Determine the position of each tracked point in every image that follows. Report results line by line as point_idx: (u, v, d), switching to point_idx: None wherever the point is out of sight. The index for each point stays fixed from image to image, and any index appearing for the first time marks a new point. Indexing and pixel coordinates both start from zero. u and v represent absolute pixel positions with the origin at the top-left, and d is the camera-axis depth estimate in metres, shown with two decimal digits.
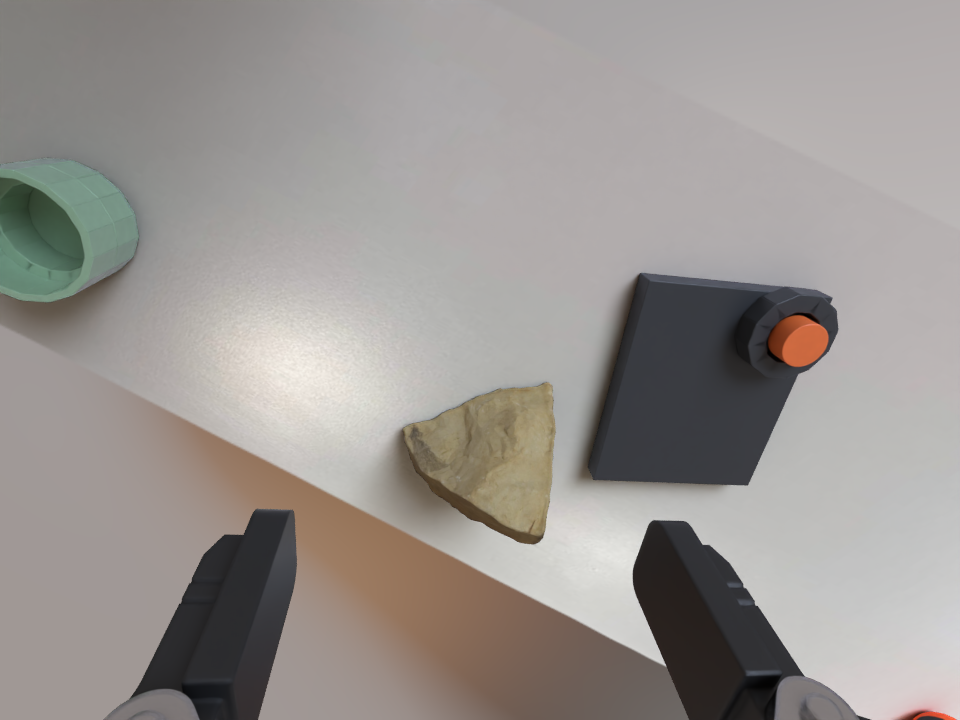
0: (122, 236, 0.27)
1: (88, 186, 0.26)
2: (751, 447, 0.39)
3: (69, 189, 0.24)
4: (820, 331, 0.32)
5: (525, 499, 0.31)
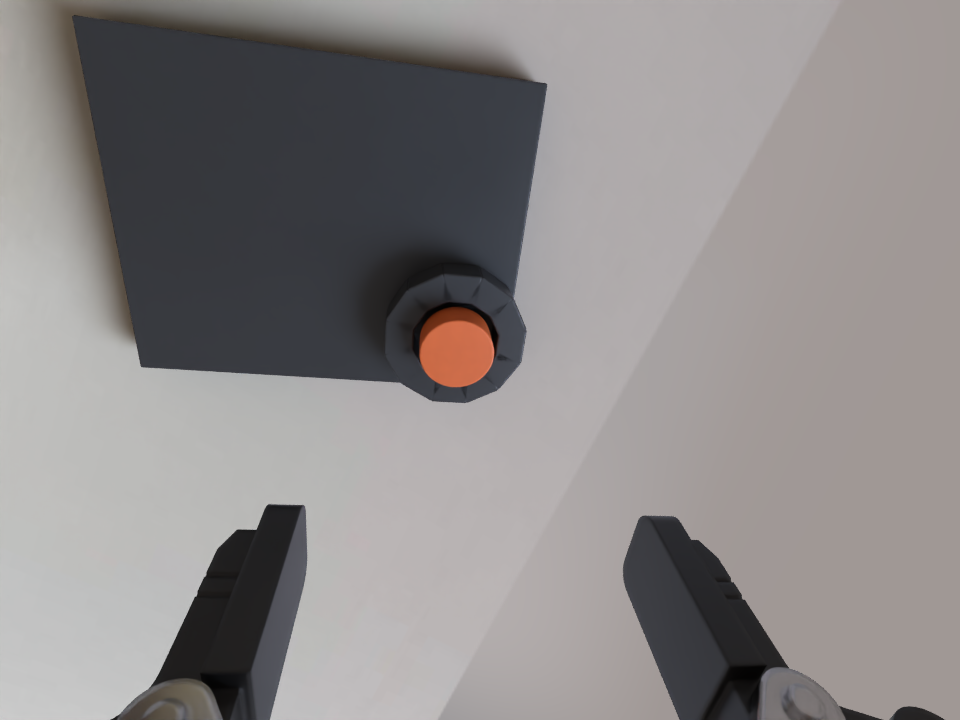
0: None
1: None
2: (227, 349, 0.22)
3: None
4: (481, 369, 0.21)
5: None
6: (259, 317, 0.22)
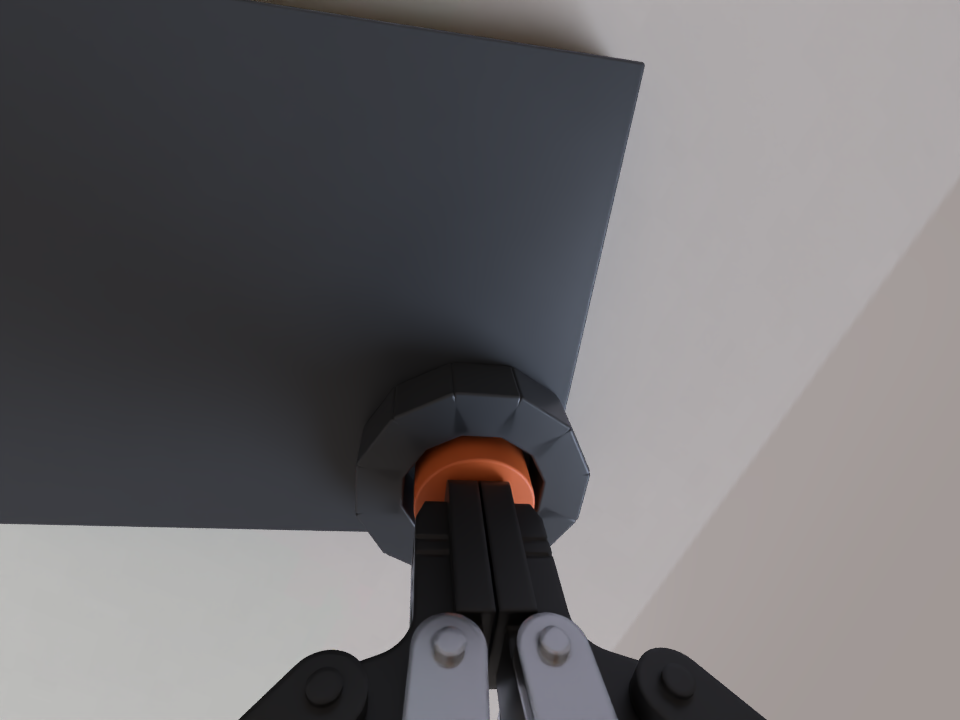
0: None
1: None
2: (104, 495, 0.14)
3: None
4: None
5: None
6: (152, 448, 0.13)
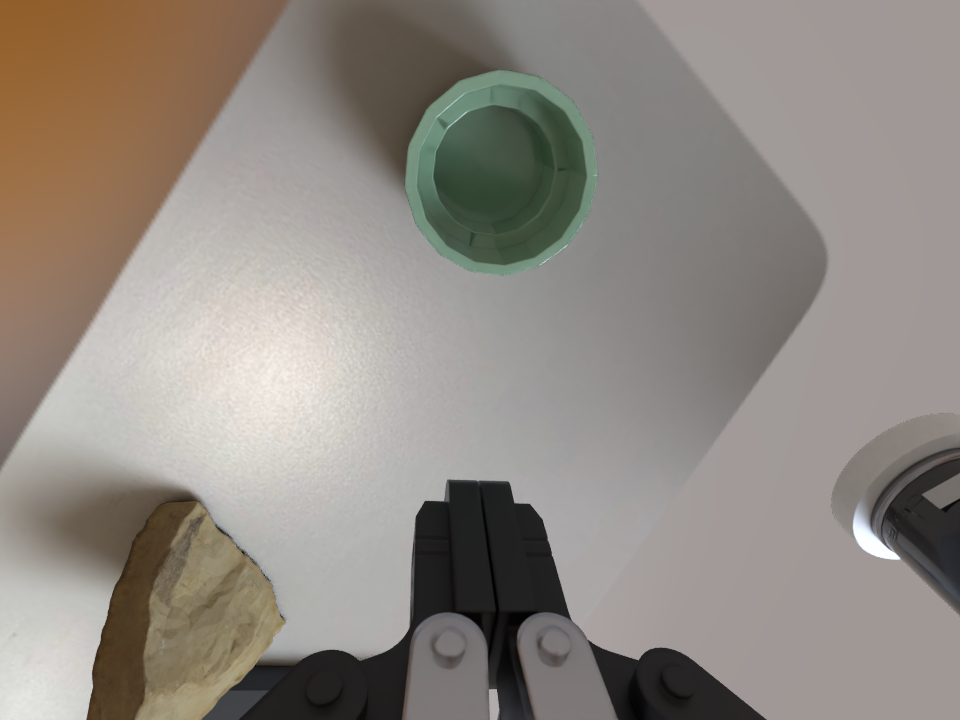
0: None
1: None
2: None
3: None
4: None
5: None
6: None
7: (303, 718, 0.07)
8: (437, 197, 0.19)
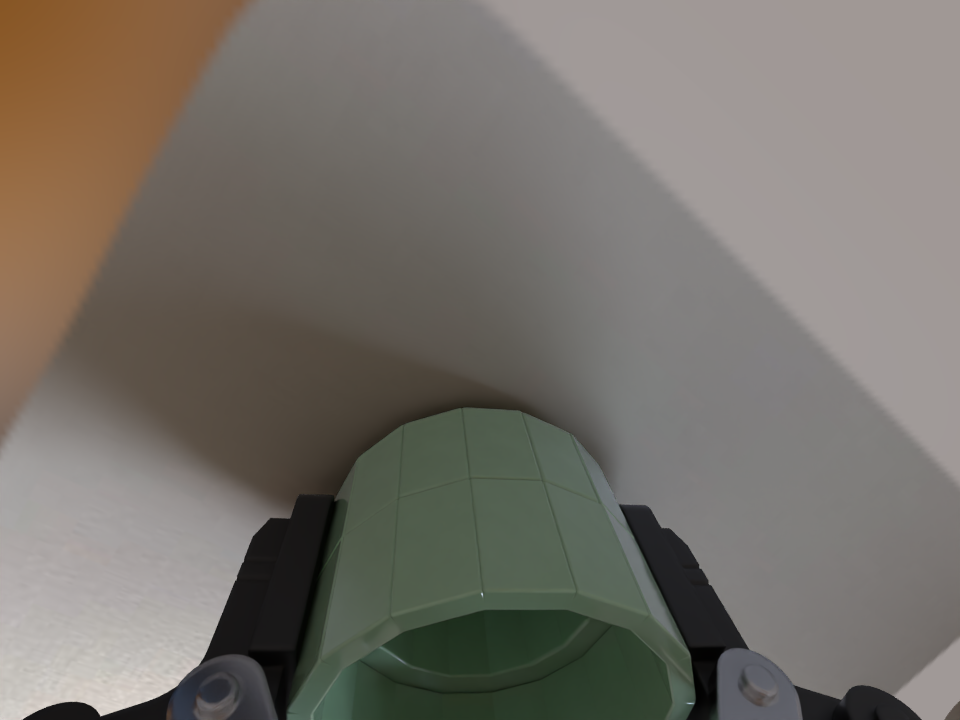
0: None
1: None
2: None
3: None
4: None
5: None
6: None
7: None
8: None
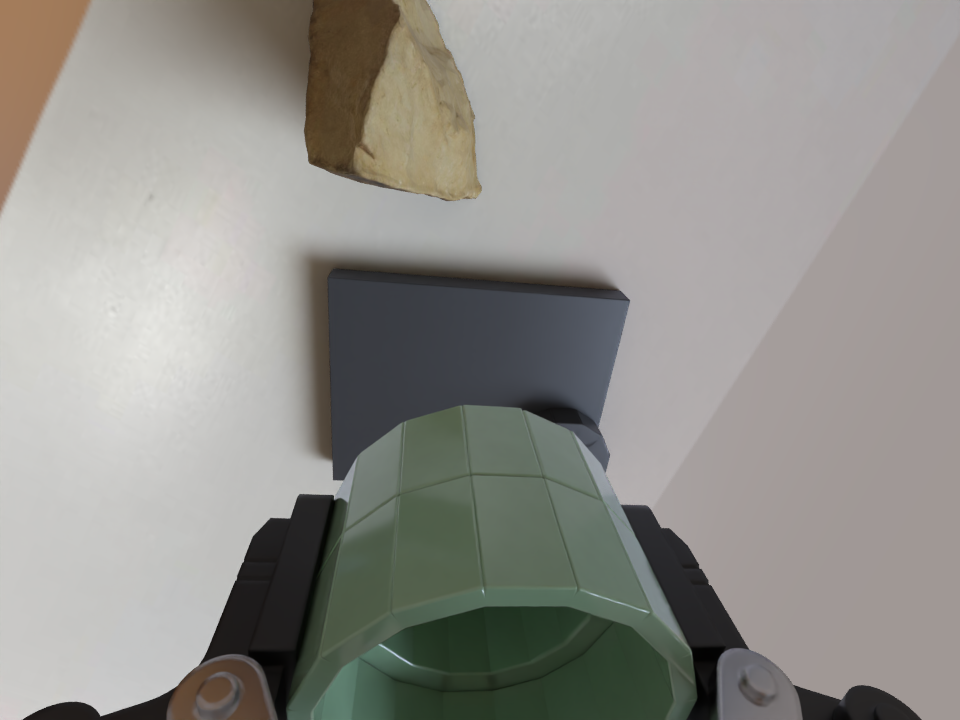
0: None
1: None
2: None
3: None
4: None
5: (398, 141, 0.17)
6: None
7: None
8: None
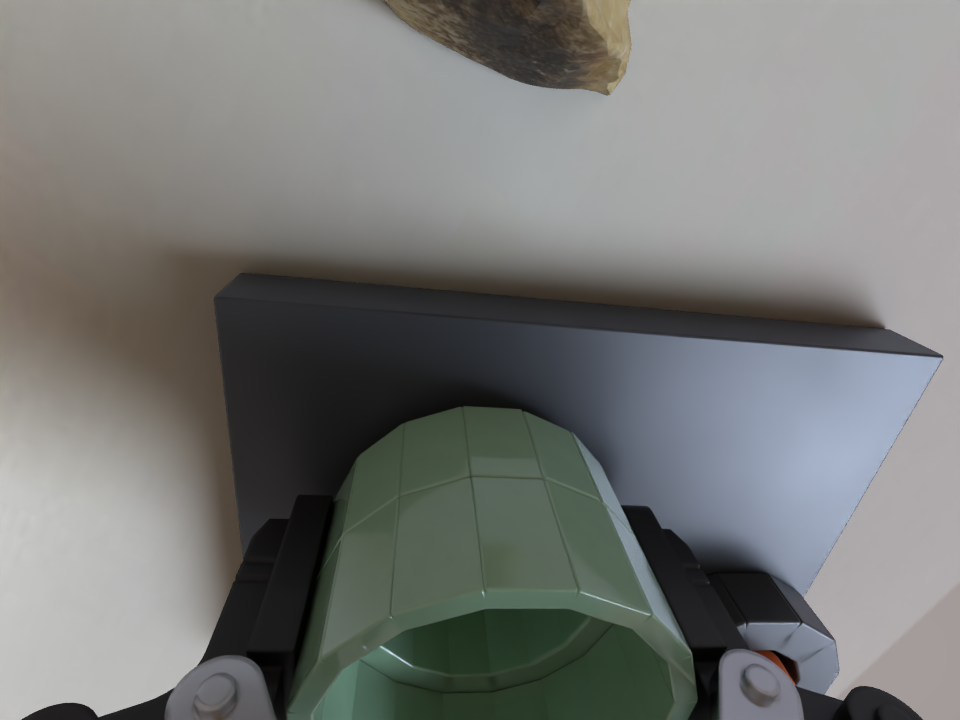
0: None
1: None
2: None
3: None
4: None
5: None
6: None
7: None
8: None
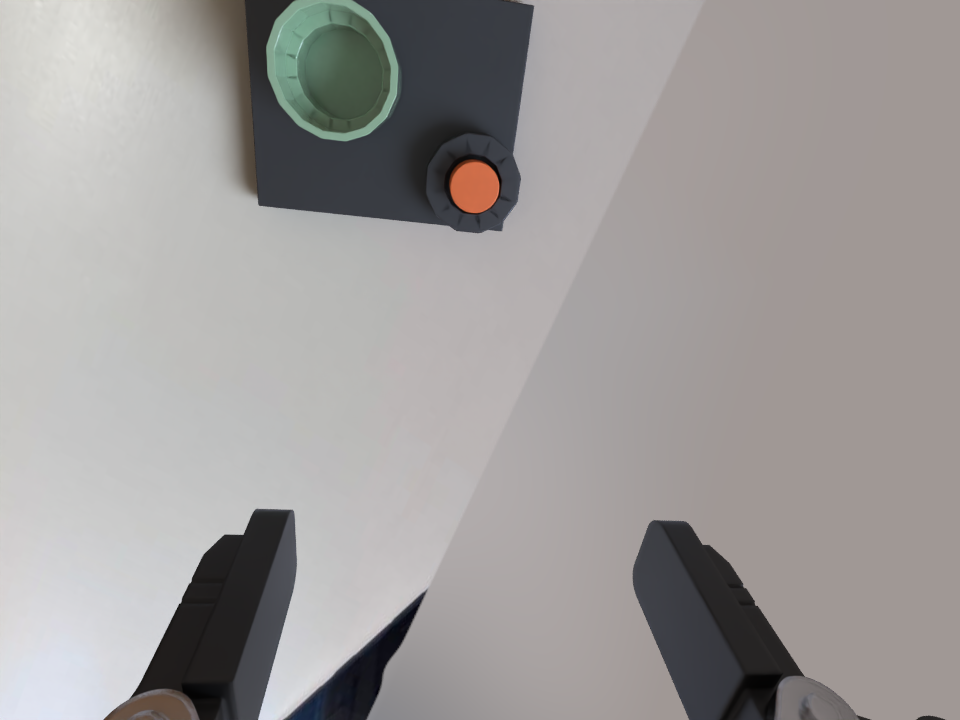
0: None
1: (382, 123, 0.29)
2: (317, 193, 0.33)
3: (381, 123, 0.28)
4: (490, 199, 0.31)
5: None
6: (340, 169, 0.32)
7: None
8: (302, 92, 0.28)
